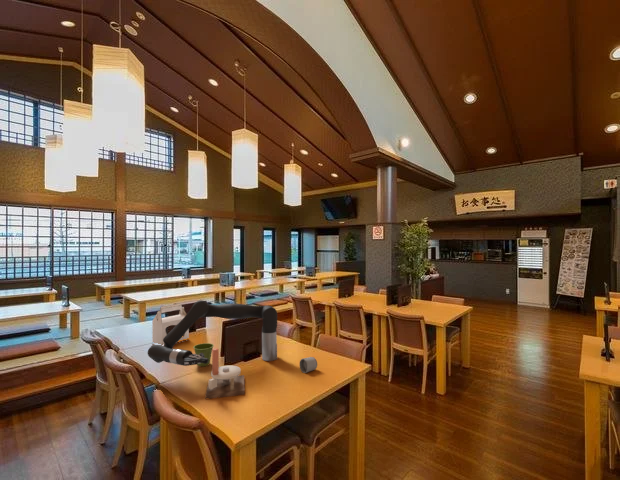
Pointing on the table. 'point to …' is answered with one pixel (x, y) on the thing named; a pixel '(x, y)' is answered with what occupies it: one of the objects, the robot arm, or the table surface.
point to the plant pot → (204, 351)
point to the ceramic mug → (308, 364)
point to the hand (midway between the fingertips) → (207, 361)
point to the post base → (226, 388)
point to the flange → (221, 370)
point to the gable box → (167, 323)
